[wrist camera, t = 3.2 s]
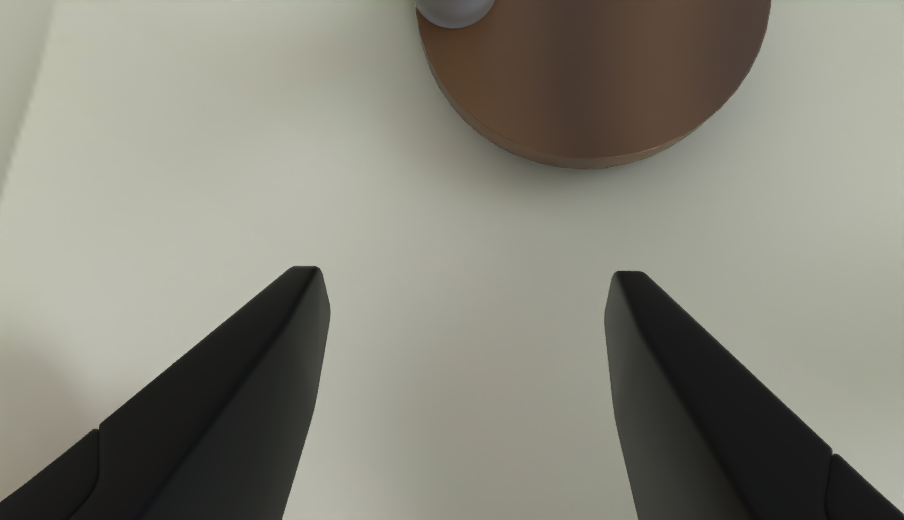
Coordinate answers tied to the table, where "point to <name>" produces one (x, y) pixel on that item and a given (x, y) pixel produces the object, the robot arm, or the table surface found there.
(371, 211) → the table surface
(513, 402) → the table surface
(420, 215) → the table surface
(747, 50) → the disc
